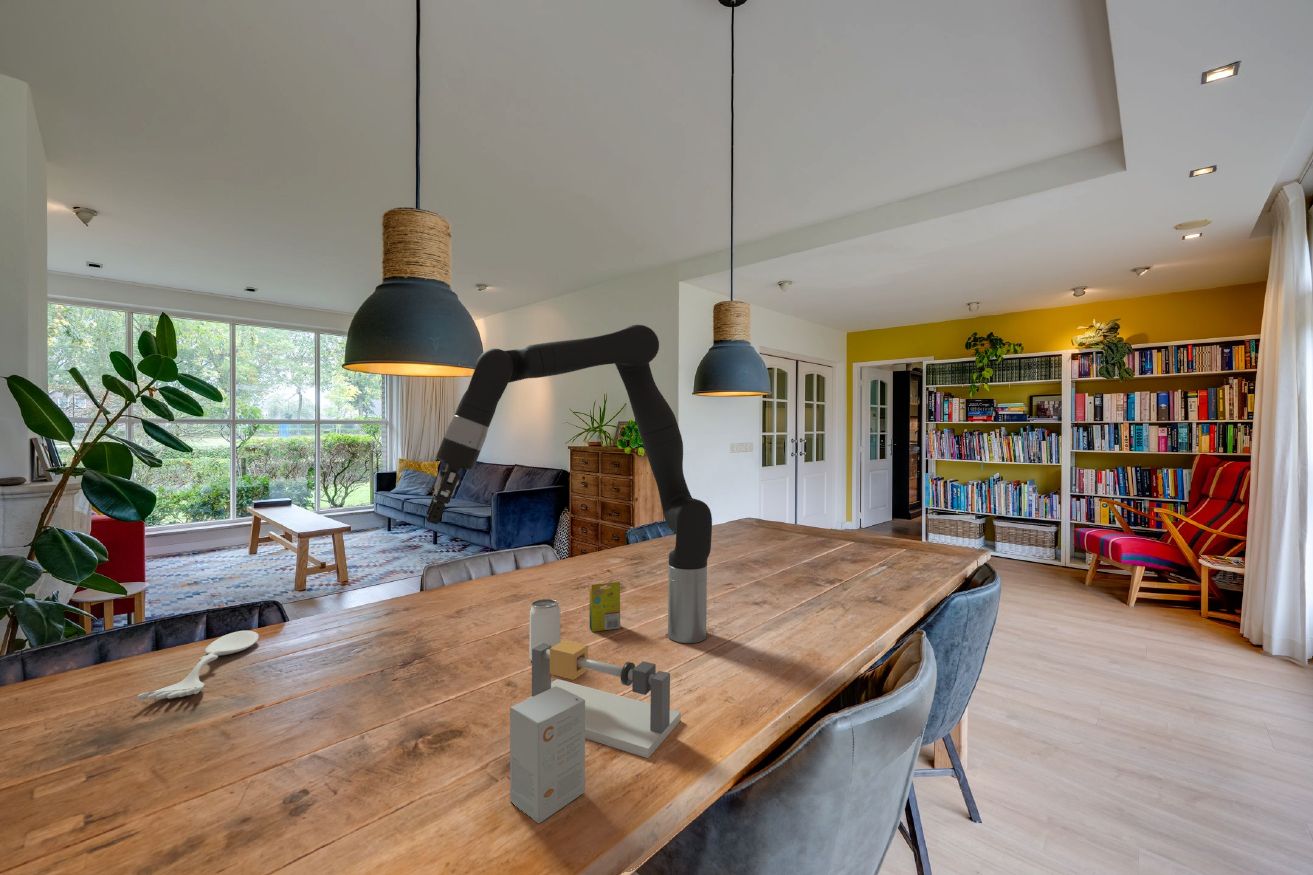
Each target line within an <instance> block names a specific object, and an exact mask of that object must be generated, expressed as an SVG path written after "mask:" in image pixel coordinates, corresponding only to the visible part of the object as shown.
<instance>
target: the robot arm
mask: <svg viewBox="0 0 1313 875" xmlns="http://www.w3.org/2000/svg"><path fill="white" fill-rule="evenodd" d="M659 350H660V341H659V338H658V335H657V333H655V331H654V330H653V329H652V328H650V327H649V326H648V325H647V326H646V325H644V324H633V325H629V326H627V327H625V328H622V329H620V330H618V331H615V332H612V333H608V334H607V333H606V334H602V335H598V336H593V337H586V338H585V337H584V338H576V339H567V340H557V341H550V342H543V343H535V344H534V343H533V344H530V345H526V346H524V347H520V348H517V349H516V348H515V349H508V350H504V349H500V348H490V349H487V350H485V351H484V352H482V353H481V354H480V355H479V356H478V357H477V359H476V361H475V364H474V370H473V374H472V376H471V379H470V381H469V384H468V387H467V389H466V391H465V393H464V394H462V397H461V399H460V401H459V404H458V406H457V408H456V410H455V413H454V415H453V418H452V419H451V421H450V422H449V424H448V425H447V426H448V427H447V429H446V431H445V434H444V436H443V438H442V440H441V443H440V446H439V447H438V450H437V453H436V456H435V457H436V459H437V460H439V461H441V462H444V463H446V465H444V466H443V467H442V470H441V469H440V470H439V471H438V474H437V477H436V481H435V484H434V487H433V493H432V499H431V501H430V503H429V506H428V508H427V511H426V515H427V518H426V521H427V522H428V523H431V524H434V525H438V524H439V523H440V520H441V518H442V515H443V514H444V511H445V508H446V507H447V506H448V504H449V503H450V502H451V498H452V497H453V496H454V494H455V491H456V488H457V486H458V485H459V484H460V480H461V476H460V473H459V472H460V470H461V469H464V470H466V471H467V470H468V471H473V470H474V468H475V466H476V464H477V462H478V461H477V460H478V458H479V456H480V454H481V451H482V448H483V446H484V444H485V442H486V438H487V435H488V431H489V427H490V426H491V423H492V421H493V417H494V416H495V412H496V409H497V406H498V404H499V401H500V400H501V398H502V396H503V394H504V393H505V390H506V389H507V386H508V384H509V383H513V382H518V381H523V380H526V379H539V378H546V377H552V376H558V375H564V374H568V373H572V372H576V371H581V370H585V369H589V368H592V367H598V366H604V365H613V364H614V365H615V367H616V369H617V371H618V373H619V376H620V379H621V380H622V383H623V385H624V388H625V390H626V393H627V396H628V399H629V403H630V406H631V409H632V413H633V416H634V420H635V422H636V423H635V424H636V426H637V430H638V433H639V437H640V439H641V443H642V445H643V448H644V452H645V454H646V457H647V460H648V463H649V466H650V469H651V472H652V474H653V477H654V480H655V482H656V486H657V491H658V495H659V500H660V504H661V505H660V506H661V509H662V513H663V519H664V521H665V523H666V525H667V527H668V528H669V530H671V532H674V533H675V535H676V536H675V546H674V549H673V550H671V551H670V552H669V553H668V578H667V579H668V587H667V591H668V593H667V596H668V597H667V600H668V602H667V637H668V639H670V640H672V641H674V642H678V643H683V644H694V643H700V642H703V641H704V640H706V638H707V615H708V614H707V610H708V609H707V608H708V606H707V604H708V603H707V598H708V597H707V596H708V595H707V594H708V559H709V558H710V557H709V556H710V553H711V551H712V550H711V549H712V538H713V537H712V535H713V531H712V530H713V517H712V511H711V509H710V507H709V506H708V504H707V503H706V502H704V501H702V500H700V499H697V498H695V497H692V495H691V492H690V490H689V488H688V484H687V482H686V478H685V474H684V469H683V468H684V463H683V462H684V442H683V438H682V434H681V431H680V427H679V424H678V420H677V419H676V415H675V414H674V411H673V410H672V408H671V406H670V405H669V403H668V402H667V400H666V399H665V397H664V396H663V394H662V393H661V391H660V389H659V388H658V386H657V384H656V382H655V380H654V376H653V373H652V370H651V367H650V363H651V362H652V361H653V360H654V359H655V358H656V357H657V355H658V353H659Z"/></svg>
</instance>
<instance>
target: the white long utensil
mask: <svg viewBox="0 0 1313 875" xmlns="http://www.w3.org/2000/svg"><path fill="white" fill-rule="evenodd" d="M259 639H260V635H259V634H258V632H255V631H254V630H253V631H252V630H238V631H234V632H230V633H228V634H227V633H226V634H225V635H222V636H220V637H219V638H218V639H215V640H214V641H212V642H211V643H209V644H208V645H207V647H206V648H205V649H204V652H205V653H206V655H204V656H201V657H199V658H198V661H199V662H198V663H197V664H196V665H195V666H194V667H193V668H192V670H191V671H190V672H189V674H188V675H187V676H186V677H185V678H184V679H182V680H180V681H179V682H177V683H174V684H171V685H168V686H165V687H162V688H160V689H157V690H154V691H153V690H152V691H147V692H143V693H140V694H138V695H137V696H136V701H141V700H142V701H143V700H145V699H147V700H155V699H156V700H163V699H175V698H182V697H185V696H191V695H193V694H194V695H197V694H199V692H200V691H202V689H204V687H205V683H204V682H202V681H201V680H200V674H201V672H202V670H203V668H204V667H205V666H206V665H207V664H209V663H210V662H213V661H215V660H217V659H218V658H219V656H227V655H233V654H235V653H239V652H242V651H244V650H247V649H249V648H250V647H252V646H254V644H256V643H257V642H258V640H259Z"/></svg>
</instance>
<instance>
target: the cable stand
mask: <svg viewBox="0 0 1313 875" xmlns="http://www.w3.org/2000/svg"><path fill="white" fill-rule="evenodd" d="M550 648H551V645H548V644H544V643H542V644H540V645H538V646H537V647H535V648H533V649H532V661H531V696H529V697H528V698H526V699H525V700H527V699H529V698H531V697H534V696H536V695H538V694H540V693H542V692H544V691H547V690H549V689H551V688H553V687H555V686H557V687H560V688H562V689H564V690H566V691H568V692H570V693H572V694H575V695H577V696H579V697H580V698H582V699H584V700H585V740H586V739H587V740H589V741H592V742H596V743H599V744H602V745H605V746H609V747H611V748H613V749H616V750H617V749H618V750H620V751H624V752H627V753H630V754H633V755H635V756H639V757H643V758H646V759H650V757H652V755H653V754H654V752H655V751H656V750H657V749H658V748H659V747H660V745H662V743H663V742H664V741H665V739H667V737H668V736H669V735H670V734H671V732H672V731H674V729H675V728H676V727H677V726H678V724H679V723H680V722H681V719H682V718H681V714H682V712H681V711H679V710H674V709H673V708H672V709H670V708H671V672H666V671H663V670H658V671H657V672H656V670H657V669H656V668H657V667H656V666H657V665H656V663H653V662H648V661H641V662H640V663H639V664H637V665H635V663H634V662H629V661H627V662H625V663H624V665H623V666H619V665H615V664H612V663H607V662H603V661H599V660H595V659H590V658H588V659H587V658H583V657H578V658H577V667H581V668H585V669H588V670H591V671H594V672H597V673H601V674H607V675H610V676H614V677H618V678H620V683H621V685H622V686H627V687H629V686H632V687H631V690H632V691H631V692H633V693H636V694H641V695H643V696H646V695H647V694H648V693H649V692H650V703H648V702H645V701H641V700H637V699H633V698H630V697H626V696H622V695H618V694H616V693H611V692H608V691H605V690H599V689H596V688H593V687H589V686H584V685H581V684H578V683H573V682H570V681H567V680H563V679H560V678H557V679H554V680H553V681H552V674H550Z"/></svg>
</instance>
